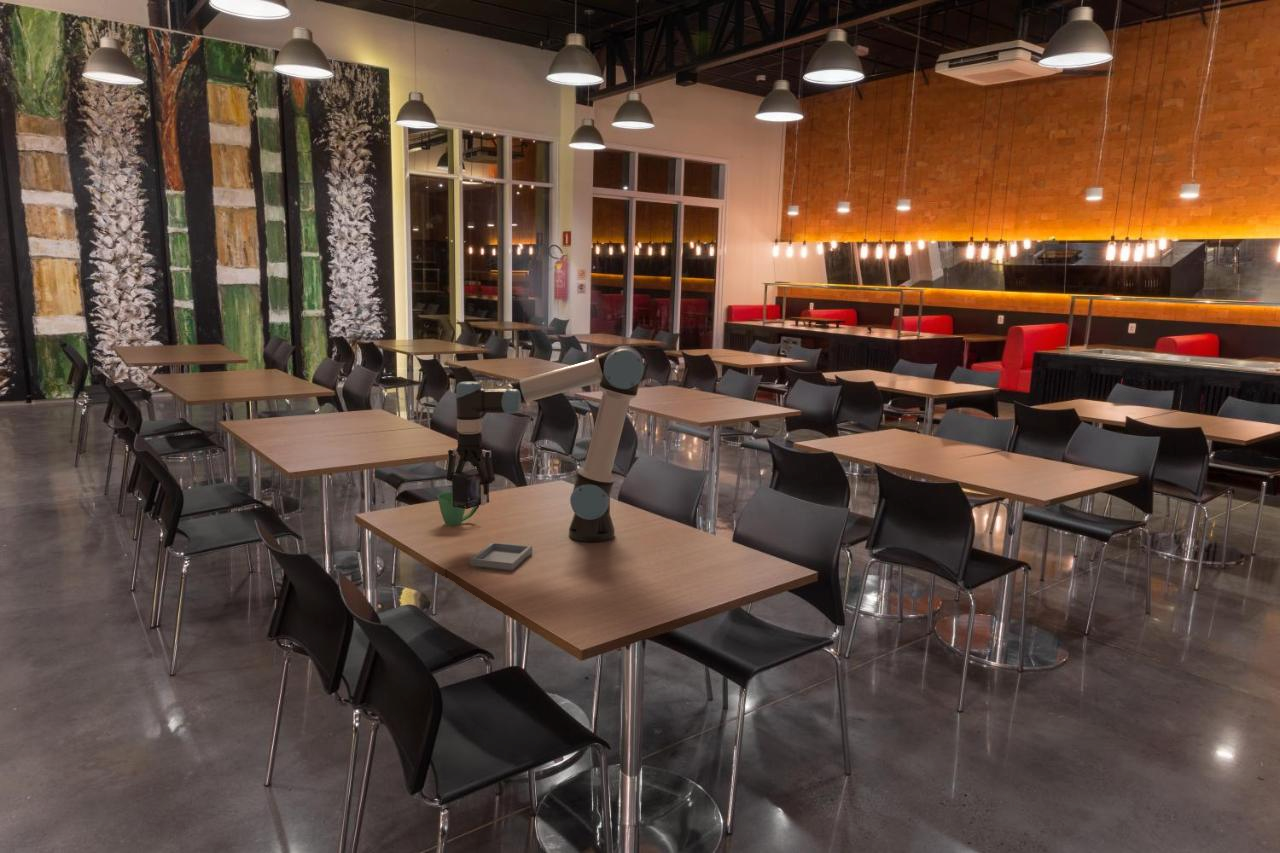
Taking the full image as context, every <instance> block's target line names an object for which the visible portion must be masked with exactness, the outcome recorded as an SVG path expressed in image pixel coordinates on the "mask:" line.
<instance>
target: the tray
mask: <svg viewBox="0 0 1280 853" xmlns="http://www.w3.org/2000/svg"><path fill="white" fill-rule="evenodd" d="M531 555H533V545H525V544H517V543H516V544H515V543H506V542H499V541H497V542H496V541H492V542H491V543H489V544H488V545H487V546H485V547H484V548H482V550H480V551H479V552H477V553H476V554H475V555H474V556H472V557H471V558H470V560H469V565H470V566H469V567H470V568H474V569H483V570H484V569H485V570H493V571H494V570H495V571H503V572H504V571H505V572H511V573H512V572H514V571H515V570H516V569H517V568H518V567H519V566H520V565H522V564H523V563H524V562H525V561H527V559H528V558H529V557H530V556H531Z"/></svg>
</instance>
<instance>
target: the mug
mask: <svg viewBox="0 0 1280 853" xmlns="http://www.w3.org/2000/svg"><path fill="white" fill-rule="evenodd" d="M437 501H438V505H439V510H440V514H441V516H442V519H443V521H444V524H445V526H447V527H458V526H459V525H461V524H462V523H463V522H464V521H466V520H467V519H469V518H471V517H472V516H473V515H474V514H475V513H476V512H477V510H478V509H479V507H480V505H479V506H475V507H472V508H471V510H470V511H469V512H468V513H467V514H465V511H466V509H463V508H457V507H453V493H452V492H444V493H440V494H438V496H437Z"/></svg>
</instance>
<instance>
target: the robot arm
mask: <svg viewBox="0 0 1280 853" xmlns="http://www.w3.org/2000/svg"><path fill="white" fill-rule="evenodd" d="M644 371H645V365H644V359H643V357H642V355H641V353H640V352H639V351H638V349H636V348H635V347H632V346H630V345H620V346H617V347H615V348H613V349H611V350H608V351H606V352H603V353H599V354H596V356H595V358H594V359H589V360H586V361H582V362H579V363H576V364H572V365H568V366H564V367H561V368H558V369H554V370H551V371H548V372H544V373H543V372H542V373H540V374H539V373H538V374H536V375H534V376H533V375H532V376H529V377H526V378H522V379H519V380H515V381H511V382H509V381H508V382H505V383H502V384H501V385H499V387H497V388H482V384H481V382H479V381H469V380H468V381H467V380H466V381H460V382H458V383H457V384H456V391H455V392H456V394H455V401H456V402H455V403H456V404H455V406H456V431H457V432H458V433H457V434H456V435H457V436H456V438H457V439H456V440H457V447H456V448H450V449H449V450H448V451H447V453H448V463H447V464H448V465H447V472H446V480H447V481H450V482H452V474H455V473H459V472H463V471H464V468H465V465H466V463H467V462H470V463H473V465H474V466H475V467H476V468H475V469H477V470H478V473H479V475H480V477H481V480H482V482H483V484H482V485H481V505H480V506H485V505H486V504H488V503H487V494H489V495H490V484H492V483H494V482H495V481H496V477H495V473H494V467H493V460H492V457H493V456H492V455H493V451H492V450H491V449H490V450H485V449H484V448H483V432H482V430H483V427H482V426H483V425H482V423H483V422H482V417H483V416H482V414H507V415H510V414H518V413H519V412H520V411H521V406H522V405H523V404H525V403H529V402H532V401H537V400H539V399H543V398H547V397H551V396H554V395H558V394H562V393H565V392H569V391H572V390H575V389H580V388H583V387H587V386H590V385H595V384H598V383H600V384H599V388H600V390H601V391H602V395H601V399H600V403H599V407H598V411H597V415H596V419H595V421H594V422H595V424H594V427H593V431H592V435H591V439H590V441H589V446H588V450H587V454H586V458H585V462H584V466H583V467H578V468H576V469H575V473H574V485H573V488H572V489H573V490H572V492H571V495H570V497H569V502H570V507H571V509H572V511H573V517H572V520H571V522H570V525H569V527H568V528H569V529H568V536H569V538H570V539H572V540H575V541H578V542H583V543H600V542H601V543H602V542H606V541H609V540H612V539H614V538H615V534H616V533H615V532H616V531H615V526H614V523H613V520H612V517H611V493H612V491H613V490H612V489H613V486H614V481H615V478H614V477H613V475H612V471H613V467H614V462H615V459H616V456H617V451H618V448H619V443H620V440H621V436H622V432H623V430H624V429H623V428H624V424H625V421H626V418H627V413H628V409H629V406H630V402H631V401H632V399H633V398H635V397H636V398H637V395H638V391H639V387H640V383H641V380H642V378H643V375H644ZM457 455H459V461H458V464H457V467H456V459H457ZM481 456H483V458H484V462H485V463H484V464H485V467H484V464H483V460H482V457H481ZM455 467H456V469H455ZM485 468H486V469H485ZM485 470H486V471H487V474H486V471H485Z"/></svg>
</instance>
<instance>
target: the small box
mask: <svg viewBox="0 0 1280 853" xmlns="http://www.w3.org/2000/svg"><path fill="white" fill-rule="evenodd" d="M485 471H486V469H485ZM486 474H487V471H486ZM482 484H483V482H482V480H481V477H480V475H479V473H478V470H477V468H472V469H468V470H462V472H459V473H455V472H454V474H452V481H451V485H452V486H451V488H452V489H451V490H452V493H453V507H457V508H463V509H465V510H468V509H472V508H473V507H475V506H479V507H480V506H482V505H481V485H482ZM488 503H490V493H489V494H487V504H488Z"/></svg>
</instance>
